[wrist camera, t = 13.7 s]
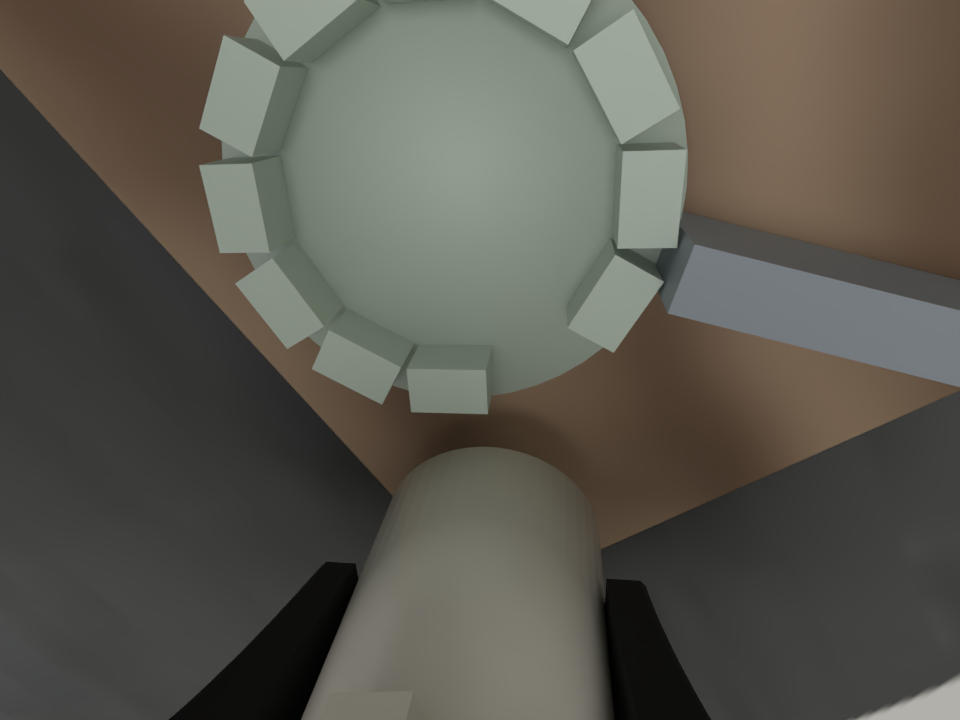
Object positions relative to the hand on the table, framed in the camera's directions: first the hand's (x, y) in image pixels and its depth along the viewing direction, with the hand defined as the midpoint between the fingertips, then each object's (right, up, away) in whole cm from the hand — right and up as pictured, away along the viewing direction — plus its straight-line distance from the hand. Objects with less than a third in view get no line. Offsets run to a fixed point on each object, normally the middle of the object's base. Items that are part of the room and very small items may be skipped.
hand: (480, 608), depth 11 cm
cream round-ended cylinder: (0, +1, +2) cm, 2 cm away
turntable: (+3, +8, +1) cm, 8 cm away
